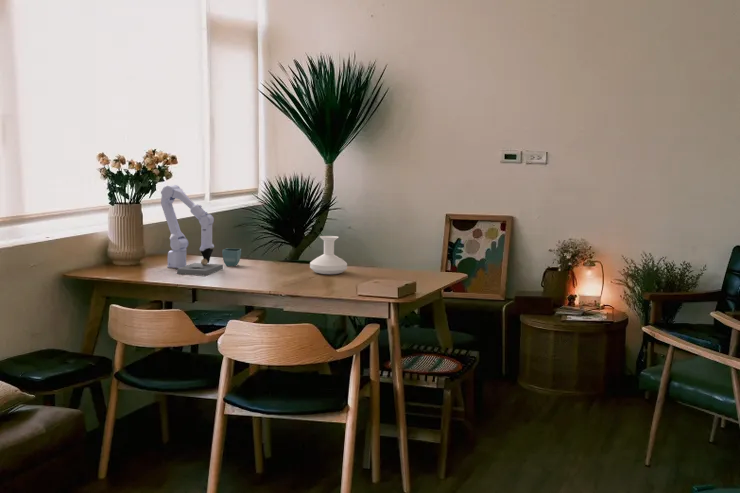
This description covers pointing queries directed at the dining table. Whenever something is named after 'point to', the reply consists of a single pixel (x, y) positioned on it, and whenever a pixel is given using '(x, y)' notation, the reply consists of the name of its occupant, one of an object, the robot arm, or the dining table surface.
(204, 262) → the ball
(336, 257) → the white vase
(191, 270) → the board
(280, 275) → the dining table surface
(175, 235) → the robot arm
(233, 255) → the flower pot
